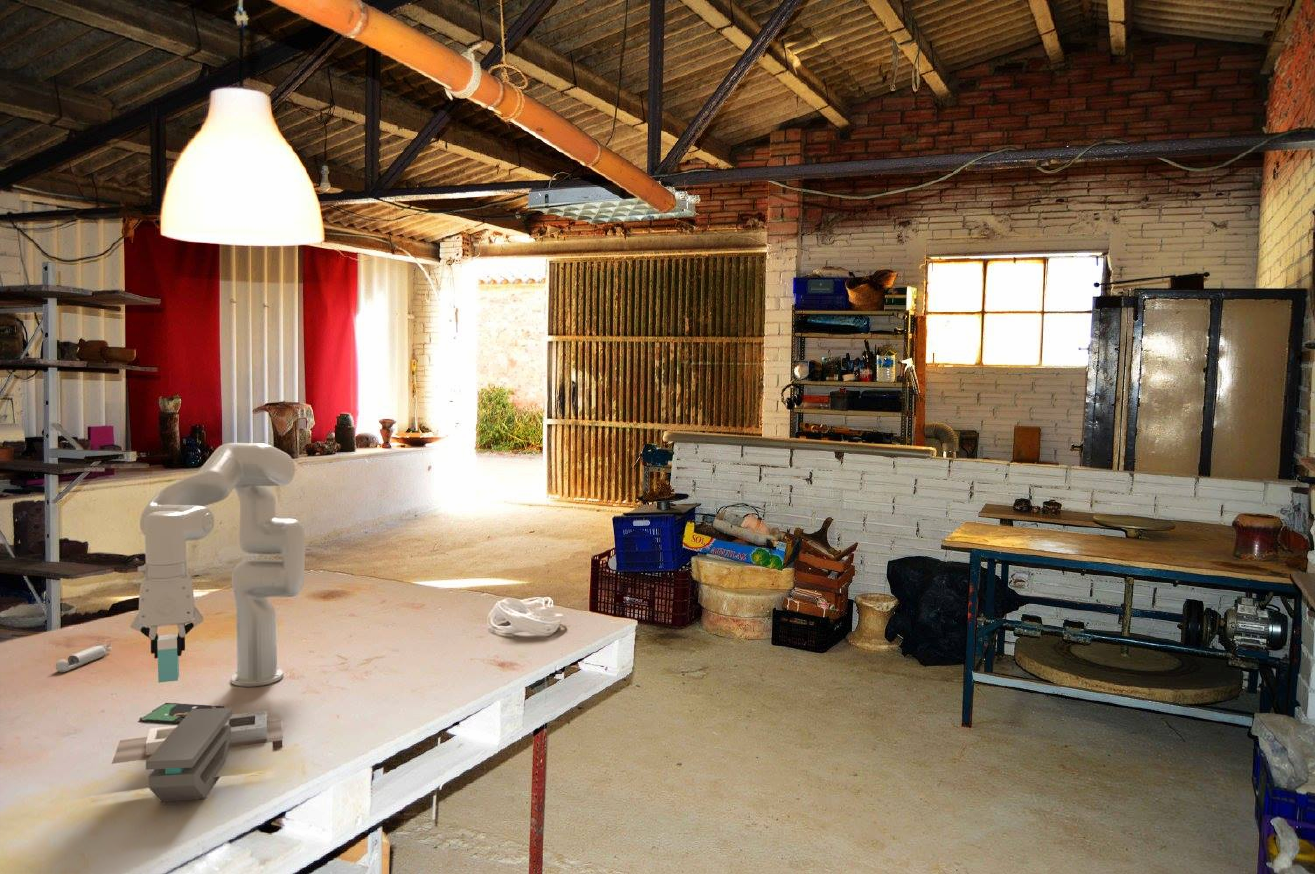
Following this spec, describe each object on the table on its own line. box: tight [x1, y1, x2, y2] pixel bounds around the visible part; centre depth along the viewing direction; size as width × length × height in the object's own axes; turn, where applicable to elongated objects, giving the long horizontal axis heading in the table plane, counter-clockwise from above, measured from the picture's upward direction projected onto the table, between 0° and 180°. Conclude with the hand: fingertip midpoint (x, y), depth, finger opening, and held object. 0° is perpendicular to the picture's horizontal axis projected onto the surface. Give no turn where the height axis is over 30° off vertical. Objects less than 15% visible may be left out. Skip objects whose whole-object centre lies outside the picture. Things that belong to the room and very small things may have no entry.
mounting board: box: [111, 719, 283, 764], centre depth 195 cm, size 12×32×2 cm, turn 114°
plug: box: [157, 633, 180, 684], centre depth 191 cm, size 4×4×9 cm
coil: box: [486, 596, 565, 637], centre depth 289 cm, size 25×24×9 cm
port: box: [225, 710, 268, 745], centre depth 198 cm, size 10×10×3 cm
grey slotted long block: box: [145, 707, 233, 802], centre depth 177 cm, size 25×8×11 cm, turn 10°
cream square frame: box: [146, 724, 179, 755], centre depth 193 cm, size 8×8×2 cm
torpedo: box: [55, 642, 112, 673], centre depth 247 cm, size 18×5×7 cm, turn 171°
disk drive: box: [137, 702, 225, 725], centre depth 209 cm, size 10×3×15 cm
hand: (168, 654), depth 191 cm, fingers closed on plug, 3 cm apart
